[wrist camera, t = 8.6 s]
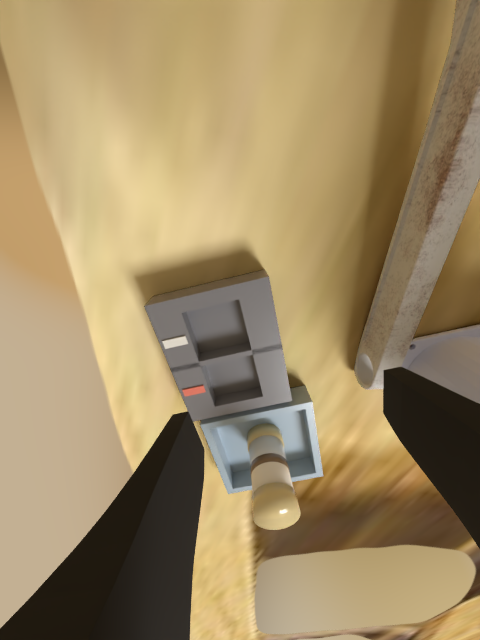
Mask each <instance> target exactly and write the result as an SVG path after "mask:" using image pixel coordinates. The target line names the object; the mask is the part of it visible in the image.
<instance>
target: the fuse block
mask: <svg viewBox="0 0 480 640" xmlns="http://www.w3.org/2000/svg"><path fill="white" fill-rule="evenodd" d="M144 307H145V309H146V312H147V314H148V317H149V319H150V321H151V324H152V326H153V329H154V331H155V333H156V336H157V338H158V341H159V343H160V345H161V348H162V350H163V352H164V355H165V357H166V360H167V362H168V364H169V367H170V369H171V372H172V374H173V376H174V379H175V381H176V384H177V386H178V388H179V391H180V393H181V396H182V398H183V400H184V403H185V405H186V407H187V410H188V411H189V414H190V416H191V419H192V421H198V420H203V419H208V418H213V417H217V416H222V415H227V414H232V413H237V412H241V411H246V410H251V409H256V408H260V407H265V406H270V405H275V404H280V403H284V402H289V401H292V397H291V391H290V386H289V381H288V375H287V370H286V365H285V360H284V354H283V349H282V344H281V338H280V333H279V328H278V323H277V317H276V312H275V307H274V301H273V296H272V291H271V286H270V280H269V276H268V274H267V273H266V271H265V270H260V271H256V272H252V273H248V274H244V275H240V276H235V277H231V278H227V279H223V280H219V281H215V282H211V283H206V284H202V285H198V286H194V287H190V288H186V289H181V290H177V291H173V292H169V293H165V294H161V295H156V296H153V297H152V298H151V299H150V300H149V301H148V303H147V304H146V305H145V306H144Z"/></svg>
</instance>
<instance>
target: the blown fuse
mask: <svg viewBox="0 0 480 640" xmlns="http://www.w3.org/2000/svg"><path fill="white" fill-rule="evenodd" d="M247 446H248V452H249V456H250V472H251V480H252V492H253V495H252V509H253V519H254V522H255V523H256V524H257V525H258V526H260V527H262V528H264V529H269V530H278V529H283V528H287V527H289V526H291V525H293V524H294V523H295V522H297V520H298V519H299V517H300V509H299V504H298V500H297V496H296V492H295V490H294V489H293V485H292V481H291V477H290V471H289V466H288V462H287V459H286V455H285V451H284V442H283V437H282V433H281V431H280V429H279V428H278V427H277V426H275V425H273V424H269V423H262V424H258V425H256V426H254V427H252V428H251V429H250V430H249V432H248V434H247Z"/></svg>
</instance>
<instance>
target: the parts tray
mask: <svg viewBox="0 0 480 640" xmlns="http://www.w3.org/2000/svg"><path fill="white" fill-rule="evenodd" d="M290 391H291V397H292V401H289V402H284V403H280V404H275V405H270V406H265V407H260V408H256V409H251V410H246V411H241V412H237V413H232V414H227V415H222V416H217V417H213V418H208V419H203V420H201V424H200V425H201V428H202V430H203V433H204V435H205V438H206V440H207V443H208V445H209V448H210V450H211V453H212V455H213V457H214V460H215V462H216V465H217V467H218V470H219V472H220V475H221V477H222V480H223V482H224V485H225V487H226V490H227V492H228V494H231V493H236V492H242V491H247V490H252V480H251V472H250V456H249V452H248V446H247V434H248V432H249V430H250V429H251V428H252V427H254V426H256V425H258V424H262V423H269V424H273V425H275V426H277V427H278V428H279V429H280V431H281V433H282V437H283V442H284V451H285V455H286V459H287V462H288V466H289V471H290V477H291V481H292V482H294V481H299V480H305V479H310V478H315V477H320V476H323V471H322V464H321V458H320V451H319V444H318V437H317V430H316V424H315V417H314V410H313V403H312V400H311V398H310V395H309V393H308V391H307V389H306V386H305V385H304V386H299V387H295V388H290Z"/></svg>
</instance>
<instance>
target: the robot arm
mask: <svg viewBox="0 0 480 640" xmlns="http://www.w3.org/2000/svg"><path fill="white" fill-rule="evenodd" d="M410 345H412V346H411V347H409V349H408V351H407V354H406V356H405V359H404V361H403V363H402V366H401V367H396V368H392V369H387V370H384V388H383V413H384V415H385V417H386V418H387V420H388V422H389V423H390V425H391V427H392V429H393V430H394V432H395V433H396V435H397V437H398V438H399V440H400V441H401V443H402V444H403V445H404V447H405V448H406V449H407V451H408V452H409V453H410V455H411V456H412V457H413V459H414V460H415V461H416V462H417V464H418V465H419V466H420V468H421V469H422V470H423V472H424V473H425V474H426V475H427V477H428V478H429V479H430V481H431V482H432V483H433V485H434V486H435V487H436V488H437V490H438V491H439V492H440V494H441V495H442V496H443V498H444V499H445V500H446V501H447V503H448V504H449V505H450V507H451V508H452V509H453V511H454V512H455V513H456V515H457V516H458V517H459V519H460V520H461V522H462V523H463V524H464V526H465V527H466V529H467V530H468V532H469V533H470V535H471V536H472V538H473V539H474V541H475V542H476V544H477V545H478V547H479V548H480V324H478V325H474V326H469V327H465V328H460V329H455V330H451V331H446V332H442V333H437V334H432V335H428V336H423V337H419V338H414V339H413V340H412V342H411V344H410ZM203 482H204V447H203V445H202V443H201V440H200V438H199V435H198V433H197V431H196V428H195V426H194V423H193V421H192V419H191V416H190V414H189V411H188V412H183V413H178V414H174V415H172V417H171V418H170V420H169V421H168V423H167V424H166V426H165V427H164V429H163V430H162V432H161V433H160V435H159V436H158V438H157V439H156V441H155V442H154V444H153V445H152V447H151V449H150V450H149V452H148V453H147V454H146V456H145V457H144V459H143V460H142V462H141V463H140V465H139V466H138V468H137V469H136V471H135V472H134V474H133V475H132V476H131V478H130V479H129V481H128V482H127V483H126V485H125V486H124V487H123V489H122V490H121V491H120V493H119V494H118V496H117V497H116V498H115V500H114V501H113V502H112V504H111V505H110V506H109V508H108V509H107V510H106V512H105V513H104V514H103V515H102V516H101V518H100V519H99V520H98V521H97V523H96V524H95V525H94V526H93V527H92V529H91V530H90V531H89V532H88V533H87V535H86V536H85V537H84V538H83V539H82V541H81V542H80V543H79V544H78V545H77V546H76V548H75V549H74V550H73V551H72V552H71V553H70V555H69V556H68V557H67V558H66V559H65V560H64V561H63V562H62V563H61V564H60V566H59V567H58V568H57V569H56V570H55V571H54V572H53V573H52V574H51V576H50V577H49V578H48V579H47V580H46V581H45V582H44V583H43V584H42V585H41V586H40V588H39V589H38V590H37V591H36V592H35V593H34V594H33V595H32V596H31V597H30V599H29V600H28V601H27V602H26V603H25V604H24V605H23V606H22V607H21V608H20V609H19V610H18V611H17V612H16V613H15V614H14V615H13V616H12V617H11V618H10V619H9V620H8V621H7V622H6V623H5V624H4V625H3V626H2V627H1V628H0V640H190V614H191V594H192V575H193V564H194V554H195V546H196V538H197V530H198V522H199V515H200V507H201V499H202V490H203Z"/></svg>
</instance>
